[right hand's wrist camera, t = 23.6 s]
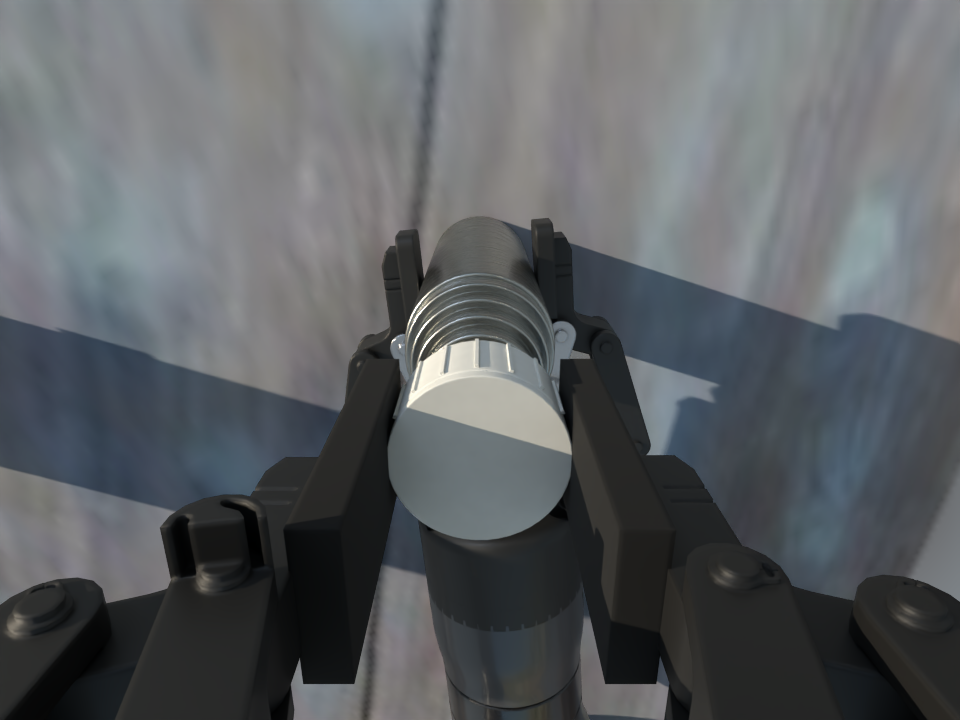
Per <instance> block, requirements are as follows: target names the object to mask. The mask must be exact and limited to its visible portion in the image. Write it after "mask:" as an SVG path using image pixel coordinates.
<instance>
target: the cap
mask: <svg viewBox="0 0 960 720" xmlns="http://www.w3.org/2000/svg"><path fill="white" fill-rule="evenodd" d="M564 414H565V412H564V408H563V405H562V402H561V398H560V395H559V392H558V388H557V385H556V382H555V380H553V381H552V380H551V378H550V377H549V375H548V374H547V372H546V371H545V370H544V369H543V368H542V366H541V365H540V364H539V363H538V360H537V359H536V358H534V359H533V358H532V357H530V356H529V355H527V354H526V353H524V352H522V351H520V350H519V349H517V348H514V347H512V346H511V344H509V343H507V344H503V343H498V342H493V341H484V340H481V341H479V339H475V341H467V342H461V343H457V344H454V345H450V346H448V345H445V346H444V348H443V349H441V350H439V351H437V352H436V353H434V354H432V355H431V356H429V357H428V358H427V359H426V360H424V361H423V362H422V361H420V362H419V363H418V367H417V368H416V369H415V371H414V372H413V373H412V375H411V376H410V378H409V379H408V381H407V383H406V385H404V384H403V385H402V388H401V391H400V394H399V398H398V401H397V404H396V408H395V411H394V414H393V419H394V423H393V426H392V430H391V433H390V436H389V441H388V447H387V448H388V467H389V478H390V481H391V484H392V486H393V489H394V491H395V493H396V494H397V496H398V498H399V500H400V501H401V502H402V504H403V505H404V506H405V507H406V509H407V510H408V511H409V512H410V513H411V514H412V515H413V516H415V517H416V518H417V519H418V520H420V521H421V522H422V523H424V524H425V525H427V526H429V527H430V528H432V529H434V530H436V531H439V532H441V533H443V534H446V535H449V536H452V537H457V538H462V539H470V540H490V539H498V538H503V537H507V536H511V535H513V534H516V533H519V532H521V531H523V530H525V529H527V528H529V527H531V526H533V525H534V524H536V523H537V522H539V521H540V520H541V519H543V518H544V517H545V516H546V515H547V514H548V513H549V512H550V511H551V510H552V509H553V508H554V507H555V506H556V505H557V503H558V502H559V500H560V499H561V497H562V496H563V494H564V492H565V490H566V488H567V486H568V483H569V480H570V476H571V460H572V442H571V438H570V435H569V431H568V428H567V424H566V421H565V417H564Z"/></svg>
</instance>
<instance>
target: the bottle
mask: <svg viewBox="0 0 960 720" xmlns="http://www.w3.org/2000/svg"><path fill="white" fill-rule="evenodd" d="M475 339H479V341H481V340H484V341H493V342H498V343H503V344H507V343H509V344H511V346H512V347H514V348H517V349H519V350H520V351H522V352H524V353H526V354H527V355H529V356H530V357H532V358H533V359H534V358H536V359H537V360H538V363H539V364H540V365H541V366H542V368H543V369H544V370H545V371H546V372H547V374H548V375H549V377H550V376H551V373H552V370H553V365H554V356H555V334H554V329H553V325H552V321H551V319H550V316H549V313H548V311H547V308H546V305H545V302H544V300H543V297H542V294H541V292H540V289H539V286H538V284H537V281H536V278H535V276H534V273H533V270H532V268H531V265H530V262H529V259H528V257H527V254H526V251H525V249H524V246H523V244H522V242H521V240H520V238H519V237H518V235H517V234H516V233H515V232H514V231H513V230H512V229H511V228H510V227H509V226H507V225H506V224H504V223H503V222H501V221H499V220H496V219H493V218H489V217H471V218H467V219H464V220H461V221H459V222H457V223H455V224H454V225H452V226H451V227H450V228H449V229H448V230H447V231H446V232H445V233H444V234H443V235H442V237H441V238H440V240H439V241H438V243H437V246H436V248H435V251H434V254H433V256H432V259H431V262H430V264H429V267H428V270H427V273H426V275H425V278H424V281H423V283H422V286H421V289H420V291H419V294H418V297H417V299H416V302H415V305H414V307H413V310H412V313H411V315H410V318H409V321H408V323H407V328H406V332H405V361H406V366H407V371H408V374H409V377H410V376H411V375H412V373H413V372H414V371H415V369H416V368H417V367H418V363H419V362H420V361H422V362H423V361H424V360H426V359H427V358H428V357H429V356H431V355H432V354H434V353H436V352H437V351H439V350H441V349H443V348H444V346H445V345H448V346H450V345H454V344H457V343H461V342H467V341H475Z"/></svg>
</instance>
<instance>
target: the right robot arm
mask: <svg viewBox="0 0 960 720" xmlns="http://www.w3.org/2000/svg"><path fill="white" fill-rule="evenodd" d="M400 391H401V384H400V363H399V359H366V361H365V363H364V366H363V368H362V370H361V372H360V374H359V376H358V378H357V380H356V382H355V384H354V386H353V388H352V390H351V392H350V394H349V396H348V398H347V400H346V402H345V404H344V406H343V408H342V410H341V413H340V415H339V417H338V419H337V421H336V423H335V425H334V427H333V429H332V431H331V433H330V435H329V437H328V439H327V441H326V443H325V445H324V447H323V449H322V451H321V453H320V455H319V457H285V458H284V459H282V460H281V461H280V462H278V463H277V464H275V465H274V466H273V467H271V468H270V469H268V470H267V471H266V472H265V473H264V475H263V477H262V478H261V480H260V481H259V483H258V485H257V486H256V490H255V491H253V493H252V494H251V496H250V497H249V496H245V495H219V496H214V497H209V498H204V499H201V500H199V501H196V502H194V503H191V504H189V505H186V506H184V507H183V508H181V509H180V510H178V511H176V512H175V513H173V514H172V515H170V516H169V517H168V519H167V520H166V521H165V522H164V523H163V525H162V526H161V527H160V530H161V535H162V540H163V544H164V549H165V554H166V558H167V563H168V568H169V572H170V577H171V581H170V584H169V586H168V589H165V590H162V591H158V592H155V593H151V594H148V595H143V596H138V597H134V598H129V599H125V600H120V601H115V602H111V603H106V602H105V598H104V594H103V590H102V588H101V587H100V586H98V585H97V584H96V583H95V582H94V581H92V580H87V579H82V578H67V579H57V580H53V581H49V582H46V583H42V584H39V585H36V586H33V587H31V588H29V589H27V590H25V591H23V592H21V593H19V594H17V595H15V596H13V597H11V598H9V599H8V600H7V601H5V602H4V603H2V604H1V605H0V720H293V718H294V705H293V697H292V690H291V682H292V679H293V676H294V673H295V670H296V667H297V664H298V661H299V658H300V662H301V670H302V677H303V684H354V683H355V678H356V674H357V670H358V665H359V661H360V656H361V652H362V647H363V643H364V639H365V634H366V630H367V625H368V621H369V616H370V612H371V607H372V603H373V599H374V594H375V590H376V585H377V581H378V576H379V572H380V568H381V563H382V559H383V554H384V550H385V545H386V541H387V536H388V532H389V528H390V523H391V519H392V514H393V510H394V505H395V501H396V497H397V494H396V493H395V491H394V489H393V486H392V484H391V481H390V478H389V467H388V448H387V447H388V441H389V436H390V433H391V430H392V426H393V423H394V419H393V414H394V411H395V408H396V404H397V401H398V398H399V394H400ZM559 395H560V398H561V402H562V405H563V408H564V412H565V414H564V417H565V421H566V424H567V428H568V431H569V435H570V438H571V442H572V460H571V476H570V480H569V483H568V486H567V488H566V490H565V492H564V494H563V498H564V503H565V507H566V512H567V516H568V520H569V525H570V529H571V534H572V538H573V543H574V547H575V552H576V556H577V560H578V565H579V569H580V574H581V578H582V583H583V587H584V591H585V596H586V600H587V605H588V609H589V614H590V618H591V623H592V627H593V631H594V636H595V640H596V645H597V649H598V654H599V658H600V662H601V667H602V671H603V676H604V680H605V684H656V682H657V674H658V667H659V659H660V657H661V659H662V662H663V665H664V668H665V671H666V674H667V677H668V680H669V690H668V697H667V705H666V712H665V719H664V720H960V602H959V601H958V600H956V599H955V598H954V597H952V596H951V595H949V594H947V593H945V592H943V591H941V590H939V589H937V588H935V587H933V586H931V585H929V584H927V583H924V582H921V581H918V580H917V581H916V580H914V579H910V578H906V577H901V576H890V575H880V576H875V577H870V578H866V579H865V580H864V581H863V582H862V583H861V584H860V585H859V586H858V588H857V592H856V596H855V600H854V601H852V600H847V599H843V598H838V597H833V596H829V595H824V594H820V593H815V592H811V591H807V590H804V589H800V588H797V587H794V586H792V585H791V583H790V580H789V579H788V577H787V576H786V574H785V573H784V571H783V570H782V568H781V567H780V566H779V565H777V564H776V563H775V562H774V561H772V560H771V559H770V558H768V557H767V556H766V555H763V554H761V553H759V552H757V551H755V550H752V549H750V548H748V547H744V546H742V545H741V543H740V542H739V540H738V539H737V537H736V535H735V534H734V532H733V531H732V529H731V527H730V526H729V524H728V523H727V521H726V519H725V518H724V516H723V515H722V513H721V511H720V510H719V508H718V507H717V505H716V503H713V499H712V497H711V496H710V494H709V492H708V491H707V489H705V488H704V484H703V483H702V481H701V480H700V478H699V476H698V475H697V473H696V472H695V470H694V469H693V468H691V467H690V466H689V465H687V464H686V463H684V462H683V461H682V460H680V459H679V458H677V457H676V456H675V455H640V454H639V452H638V450H637V448H636V446H635V444H634V442H633V440H632V438H631V436H630V434H629V432H628V430H627V428H626V426H625V424H624V422H623V420H622V417H621V415H620V413H619V411H618V409H617V407H616V405H615V403H614V401H613V399H612V397H611V395H610V393H609V391H608V389H607V387H606V385H605V383H604V381H603V379H602V377H601V375H600V373H599V370H598V368H597V366H596V364H595V362H594V360H593V359H560V375H559Z"/></svg>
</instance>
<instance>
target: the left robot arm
mask: <svg viewBox="0 0 960 720" xmlns="http://www.w3.org/2000/svg"><path fill="white" fill-rule="evenodd" d="M531 231H532V248H533V266H534V276H535V278H536V281H537V284H538V286H539V289H540V292H541V294H542V297H543V300H544V302H545V305H546V308H547V311H548V313H549V316H550V319H551V321H552V325H553V329H554V334H555V356H554V365H553V370H552V373H551V376H550V378H551V380H552V381H553V380H555V382H556V385H557V388H558V392H559V375H560V359H569V358H570V355H571V352H572V350H575V351H579V352H582V353H586V354H589V355H590V359H593V360H594V362H595V364H596V366H597V368H598V370H599V373H600V375H601V377H602V379H603V381H604V383H605V385H606V387H607V389H608V391H609V393H610V395H611V397H612V399H613V401H614V403H615V405H616V407H617V409H618V411H619V413H620V415H621V417H622V420H623V422H624V424H625V426H626V428H627V430H628V432H629V434H630V436H631V438H632V440H633V442H634V444H635V446H636V448H637V450H638V452H639V454H640V455H646V454H647V453H648V452H649V450H650V447H651V444H650V440H649V436H648V433H647V430H646V426H645V423H644V419H643V416H642V413H641V409H640V406H639V403H638V399H637V396H636V392H635V389H634V386H633V382H632V379H631V376H630V372H629V369H628V365H627V362H626V359H625V355H624V352H623V349H622V345H621V342H620V340H619V338H618V337H617V335H616V334H615V332H614V331H613V329H612V328H611V326H610V325H609V323H608V322H607V320H606V319H604V318H602V317H600V316H594V317H589V316H585V315H582V314H579V313H577V312H576V311H574V306H573V277H572V250H571V248H570V245H569V243H568V241H567V239H566V237H565V236H564V234H563V233H562V232H554V231H553V224H552V222H551V221H550V219H549V218H543V219H532V220H531ZM395 244H396V246H390V247H389V248H388V250H387V251H386V252H385V255H384V259H383V263H382V271H383V278H384V285H385V290H386V298H387V305H388V312H389V319H390V327H389V328H388V329H387V330H385V331H383V332H381V333H379V334H376V335H375V334H370V335H367V336H365V337H364V338H363V339H362V340H361V342H360V343H359V346H358V349H357V351H356V352H355V353H354V354H353V356H352V358H351V360H350V362H349V369H348V378H347V388H346V397H345V402H346V400H347V398H348V396H349V394H350V392H351V390H352V388H353V386H354V384H355V382H356V380H357V378H358V376H359V374H360V372H361V370H362V368H363V366H364V363H365V361H366V359H399V363H400V371H401V373H402V375H403V377H404V379H405V380H406V382H407V381H408V379H409V378H410V377H409V374H408V371H407V366H406V361H405V332H406V328H407V323H408V321H409V318H410V315H411V313H412V310H413V307H414V305H415V302H416V299H417V297H418V294H419V291H420V289H421V286H422V283H423V281H424V275H423V267H422V259H421V250H420V242H419V235H418V231H417V229H414V230H403V231H399V233H398V234H397V235H396V238H395ZM418 521H419V528H420V535H421V542H422V548H423V555H424V562H425V570H426V577H427V584H428V591H429V598H430V604H431V611H432V618H433V625H434V630H435V635H436V638H437V641H438V645H439V648H440V651H441V654H442V657H443V661H444V665H445V672H446V679H447V686H448V694H449V702H450V709H451V715H452V720H590V718H589V716H588V714H587V712H586V709H585V707H584V705H583V703H582V685H581V661H580V645H581V637H582V631H583V583H582V578H581V574H580V569H579V565H578V560H577V556H576V552H575V547H574V543H573V538H572V534H571V529H570V525H569V520H568V516H567V512H566V507H565V503H564V498H563V496H562V497H561V499H560V500H559V502H558V503H557V505H556V506H555V507H554V508H553V509H552V510H551V511H550V512H549V513H548V514H547V515H546V516H545V517H544V518H543V519H541V520H540V521H539V522H537V523H536V524H534V525H533V526H531V527H529V528H527V529H525V530H523V531H521V532H519V533H516V534H513V535H511V536H507V537H503V538H498V539H490V540H470V539H462V538H457V537H452V536H449V535H446V534H443V533H441V532H439V531H436V530H434V529H432V528H430V527H429V526H427V525H425V524H424V523H422V522H421V521H420V520H418Z"/></svg>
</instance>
